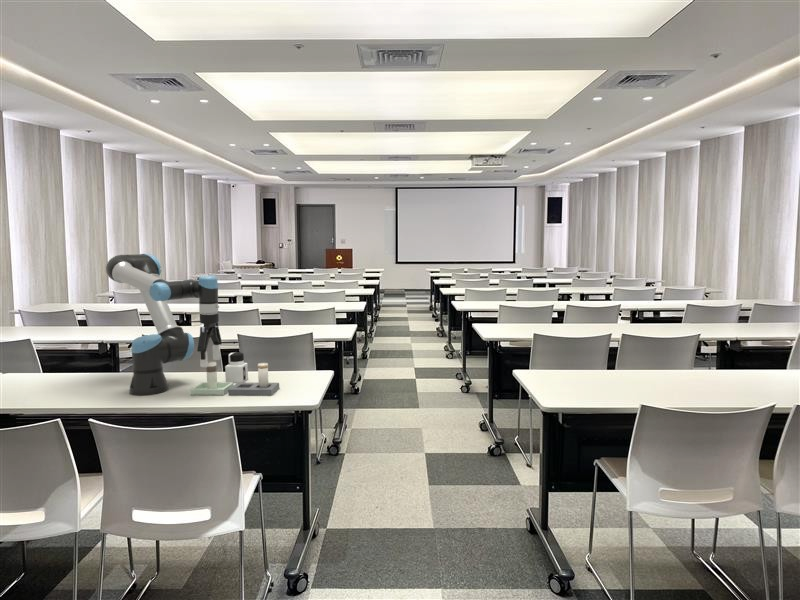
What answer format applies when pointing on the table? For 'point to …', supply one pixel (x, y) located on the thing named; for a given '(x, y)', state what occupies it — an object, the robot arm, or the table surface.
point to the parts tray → (202, 389)
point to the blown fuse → (211, 375)
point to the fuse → (263, 375)
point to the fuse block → (252, 389)
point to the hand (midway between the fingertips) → (210, 363)
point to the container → (236, 368)
